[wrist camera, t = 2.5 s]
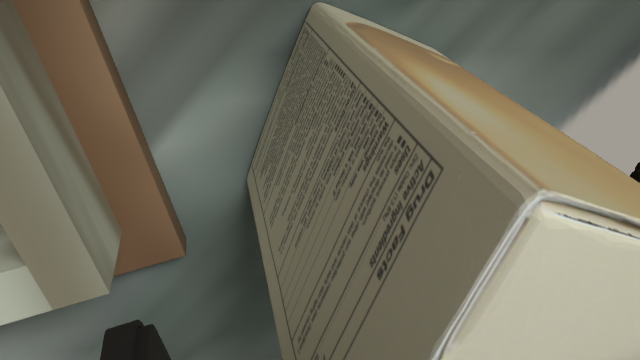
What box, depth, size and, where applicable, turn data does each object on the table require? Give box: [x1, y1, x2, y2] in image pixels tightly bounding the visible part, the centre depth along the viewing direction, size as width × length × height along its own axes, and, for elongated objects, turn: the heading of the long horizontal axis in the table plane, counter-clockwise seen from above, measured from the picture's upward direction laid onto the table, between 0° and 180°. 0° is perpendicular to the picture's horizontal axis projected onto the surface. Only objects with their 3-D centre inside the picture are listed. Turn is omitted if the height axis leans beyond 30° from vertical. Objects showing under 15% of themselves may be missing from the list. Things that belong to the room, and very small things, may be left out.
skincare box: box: [247, 2, 640, 360], centre depth 13 cm, size 6×4×12 cm
